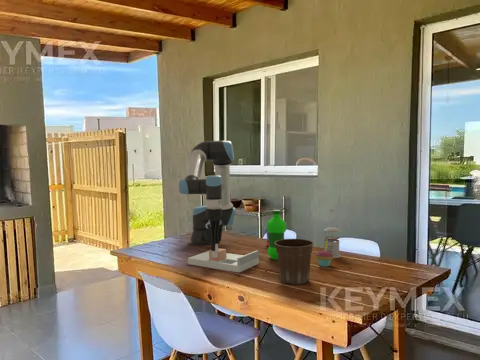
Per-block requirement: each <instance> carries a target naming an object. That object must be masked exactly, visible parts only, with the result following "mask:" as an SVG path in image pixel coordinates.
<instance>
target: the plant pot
mask: <svg viewBox="0 0 480 360" xmlns="http://www.w3.org/2000/svg"><path fill="white" fill-rule="evenodd" d="M274 244H275V245H276V252H277V255H278V260H277V261H278V271H279V280H280V282H282V283H285V284H290V285H304V284H307V283H308V282H309V281H310V270H311V258H312V257H311V256H312V253H313V246H314V241H312V240H308V239H304V238H284V239H282V240H278V241H275V243H274Z"/></svg>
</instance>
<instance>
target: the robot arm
mask: <svg viewBox="0 0 480 360" xmlns="http://www.w3.org/2000/svg"><path fill="white" fill-rule="evenodd" d="M207 161H208V162H209V161H210V162H212V165H213V166H214V169H215V170H214V171H215V173H214V174H215V175H207V176H206V178H201V176H202V172H203V171H202V170H203V167H204V163H205V162H207ZM233 161H235V151H234V146H233V143H232V141H230V140H204V141H201V142H199V143H198V144H196V145H194V147H193V148H192V149H191V151H190V153H189V164H188V168H187V171H186V174H185V178H183V179H182V178H181V179H180V180H179V182H178V191H179V194H181V195H205V205H199V206H195V207H193V209H192V233H191V236H190V239H189V240H190V241H189V242H190V245H193V246H207V245H210V250H211V251H212V257H213V258H217V257H218V248H219V244H220V243H221V241H222V234H223V227H230V226H231V227H232V226H234V223H235V217H236V216H235V214H236V207H234V204H233V203H232V202H231V181H230V180H231V178H230V177H231V176H230V175H231V174H230V173H231V172H230V171H231V170H230V169H231V168H230V166H231V165H232V164H233Z"/></svg>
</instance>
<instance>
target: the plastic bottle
mask: <svg viewBox="0 0 480 360" xmlns="http://www.w3.org/2000/svg"><path fill="white" fill-rule="evenodd" d="M272 215H273V217H271V218H270V220H268V221H267V224H266V228H267V231H268V232H269V246H268V248H267V254H268V256H269V257H270V258H271V259H272V260H277V261H278V255H277V252H276V245H275V244H274V243H275V241H278V240H282V239H285V232H286V231H287V223H286V221H285V220H284V219H283V218H282V217H281V209H273V210H272Z"/></svg>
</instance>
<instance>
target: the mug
mask: <svg viewBox="0 0 480 360" xmlns="http://www.w3.org/2000/svg"><path fill="white" fill-rule="evenodd" d="M264 231H265V232H266V233H265V234H266V243H265V245H266V247H269V232H268V231H267V227H265V228H264Z"/></svg>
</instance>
